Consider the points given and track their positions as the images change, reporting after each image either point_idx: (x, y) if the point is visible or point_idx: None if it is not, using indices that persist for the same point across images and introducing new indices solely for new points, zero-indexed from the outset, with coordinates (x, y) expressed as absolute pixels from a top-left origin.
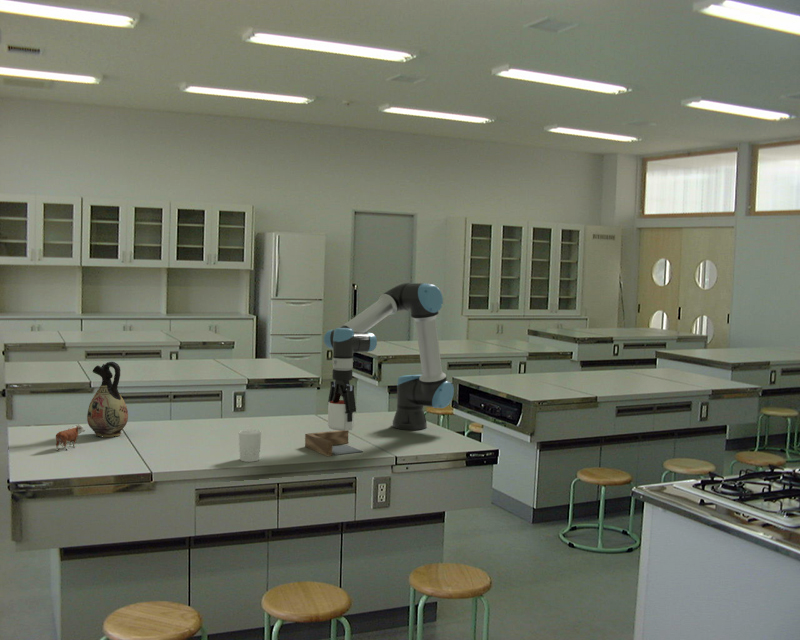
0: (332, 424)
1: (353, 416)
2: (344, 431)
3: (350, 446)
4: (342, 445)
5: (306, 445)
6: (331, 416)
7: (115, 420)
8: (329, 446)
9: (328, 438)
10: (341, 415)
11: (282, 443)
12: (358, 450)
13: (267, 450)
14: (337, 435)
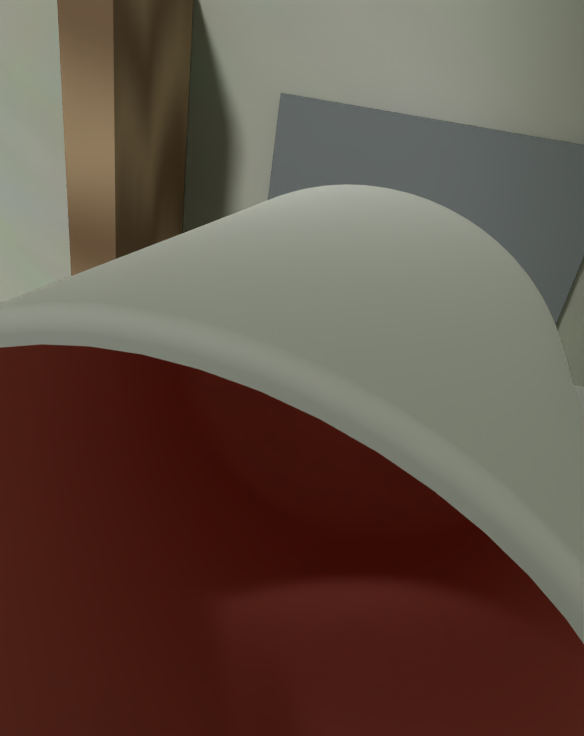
0: (365, 568)
1: (581, 410)
2: (116, 26)
3: (361, 111)
4: (279, 151)
5: None
6: (314, 657)
7: None
8: None
9: (149, 238)
10: (491, 679)
11: None
12: (568, 175)
13: None
14: (138, 132)
